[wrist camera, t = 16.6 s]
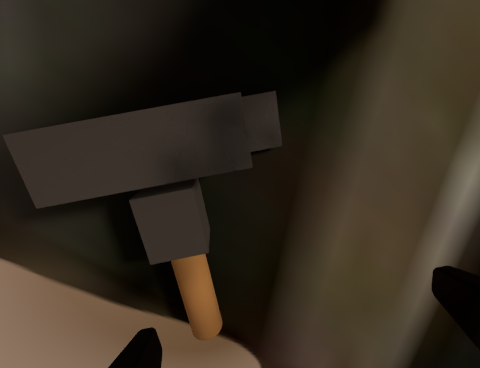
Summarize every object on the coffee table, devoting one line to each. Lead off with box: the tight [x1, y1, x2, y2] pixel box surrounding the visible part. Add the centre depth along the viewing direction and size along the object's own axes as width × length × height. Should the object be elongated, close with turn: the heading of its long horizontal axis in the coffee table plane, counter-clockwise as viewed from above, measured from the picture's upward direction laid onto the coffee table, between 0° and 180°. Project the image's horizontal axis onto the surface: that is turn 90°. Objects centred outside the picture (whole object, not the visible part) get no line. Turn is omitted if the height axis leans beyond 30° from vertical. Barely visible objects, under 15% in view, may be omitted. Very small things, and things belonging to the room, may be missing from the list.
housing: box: [2, 91, 282, 209], centre depth 15 cm, size 18×4×6 cm, turn 100°
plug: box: [129, 178, 222, 340], centre depth 19 cm, size 14×4×4 cm, turn 10°
